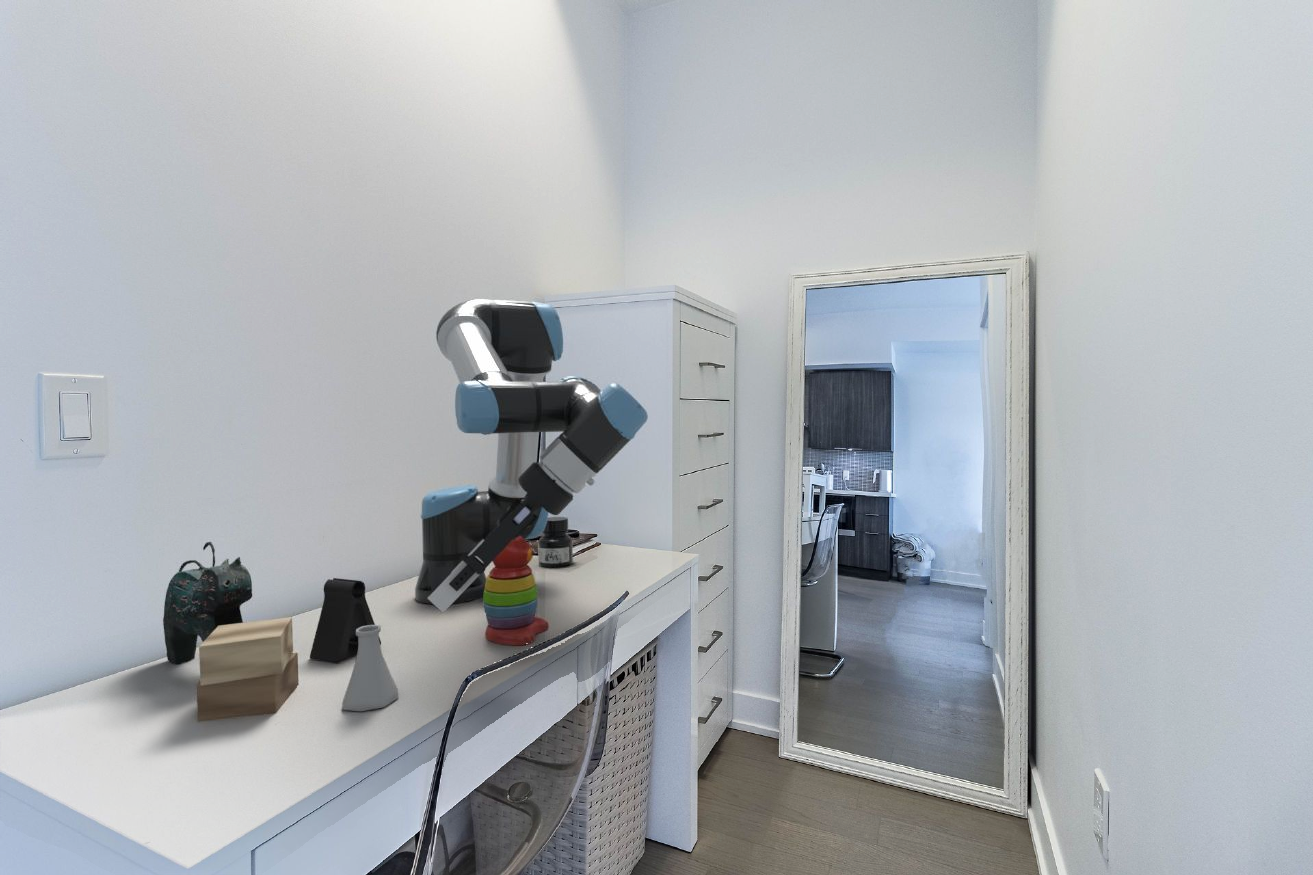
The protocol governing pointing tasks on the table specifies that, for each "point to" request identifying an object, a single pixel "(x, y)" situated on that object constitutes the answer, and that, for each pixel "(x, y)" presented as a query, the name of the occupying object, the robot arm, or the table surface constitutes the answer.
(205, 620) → the ceramic cat
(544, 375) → the robot arm
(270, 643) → the block upper
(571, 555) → the ink bottle
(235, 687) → the block lower
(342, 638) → the phone stand
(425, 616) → the table surface
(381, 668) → the flask
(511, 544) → the stacking bear
